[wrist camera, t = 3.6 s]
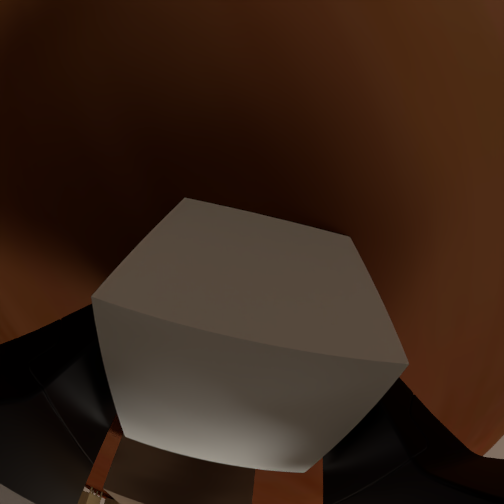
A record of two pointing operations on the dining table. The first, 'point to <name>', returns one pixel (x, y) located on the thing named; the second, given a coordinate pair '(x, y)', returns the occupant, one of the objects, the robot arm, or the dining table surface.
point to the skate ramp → (94, 498)
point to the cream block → (244, 338)
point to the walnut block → (174, 478)
